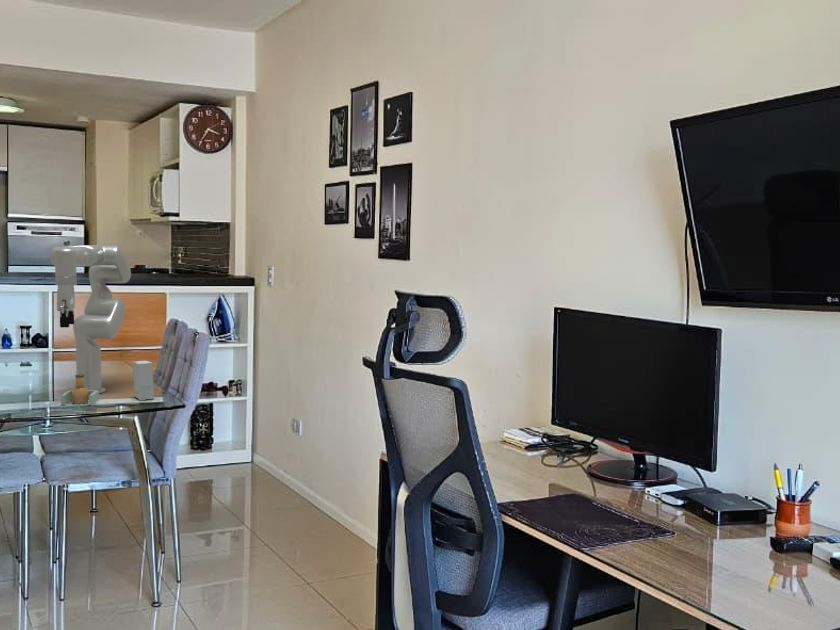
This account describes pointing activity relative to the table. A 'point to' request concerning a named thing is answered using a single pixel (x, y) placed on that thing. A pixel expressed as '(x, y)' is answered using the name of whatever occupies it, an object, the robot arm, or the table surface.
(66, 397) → the u rest
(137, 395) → the skincare box
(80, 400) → the bottle
